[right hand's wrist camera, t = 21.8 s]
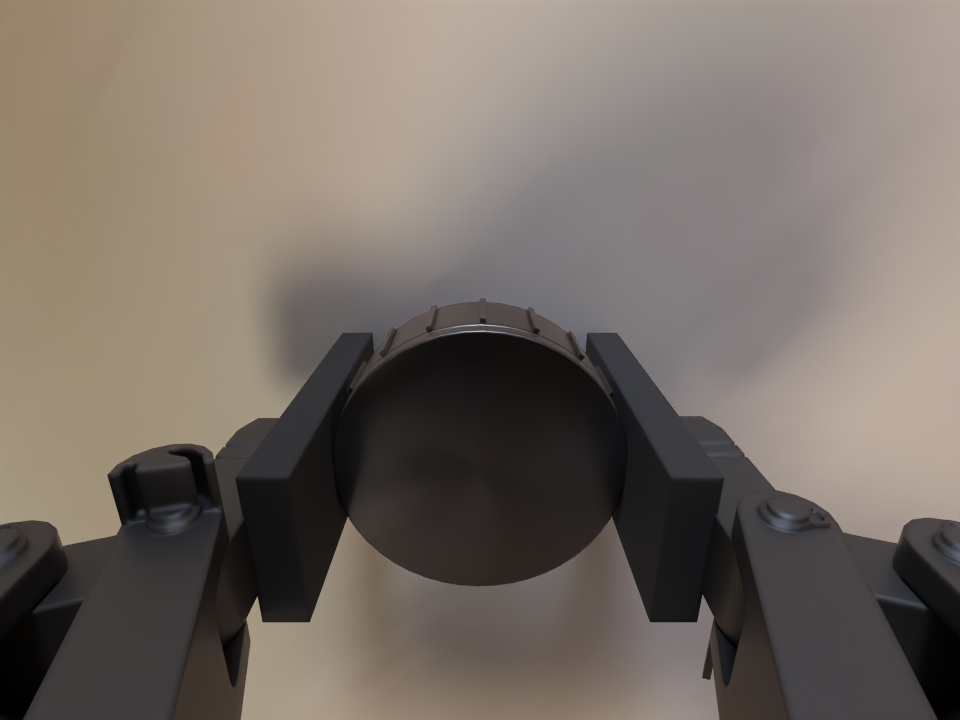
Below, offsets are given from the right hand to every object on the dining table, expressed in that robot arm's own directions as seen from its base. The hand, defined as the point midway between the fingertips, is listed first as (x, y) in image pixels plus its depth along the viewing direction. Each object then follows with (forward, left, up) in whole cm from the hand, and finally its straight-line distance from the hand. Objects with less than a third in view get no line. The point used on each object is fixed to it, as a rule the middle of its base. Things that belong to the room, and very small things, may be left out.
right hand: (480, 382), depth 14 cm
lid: (0, 0, +4) cm, 4 cm away
